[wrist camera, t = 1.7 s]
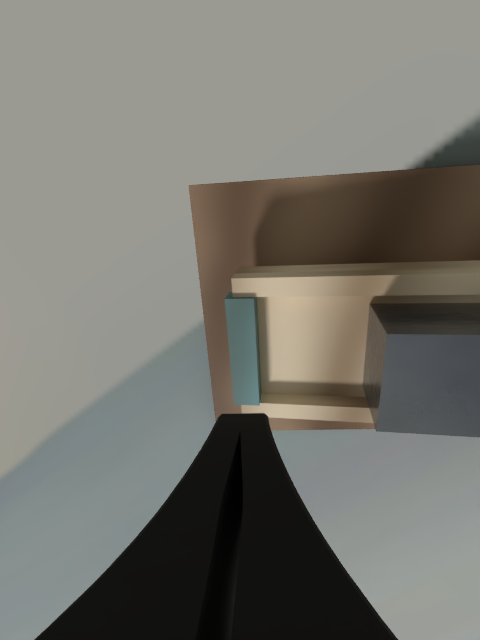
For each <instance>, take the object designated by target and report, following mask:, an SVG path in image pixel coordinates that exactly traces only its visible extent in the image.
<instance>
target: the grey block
mask: <svg viewBox="0 0 480 640" xmlns="http://www.w3.org/2000/svg"><path fill="white" fill-rule="evenodd" d="M363 390H364V393H365V396H366V399H367V403H368V406H369V409H370V412H371V416H372V419H373V422H374V425H375V429H376V431H381V432H398V433H416V434H433V435H450V436H468V437H480V303H378V304H369V316H368V327H367V339H366V351H365V362H364V374H363Z"/></svg>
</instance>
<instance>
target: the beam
mask: <svg viewBox="0 0 480 640" xmlns="http://www.w3.org/2000/svg"><path fill="white" fill-rule="evenodd" d="M231 282H232V291H231V292H229V293H228V294H227V296H226V298H225V309H226V320H227V332H228V343H229V355H230V366H231V377H232V389H233V400H234V405H241V410H242V413H265V414H266V415H267V416H268V417H269V418H288V419H307V420H325V421H344V422H363V423H374V422H373V419H372V416H371V412H370V409H369V406H368V403H367V399H366V396H365V393H364V390H363V374H364V362H365V351H366V339H367V327H368V316H369V304H378V303H480V260H471V261H435V262H398V263H361V264H324V265H287V266H251V267H239V268H238V270H237V271H236V272H235V274H234V275H233V277H232V278H231Z"/></svg>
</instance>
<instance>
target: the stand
mask: <svg viewBox="0 0 480 640" xmlns="http://www.w3.org/2000/svg"><path fill="white" fill-rule="evenodd" d="M189 192H190V201H191V209H192V218H193V227H194V236H195V244H196V253H197V262H198V270H199V279H200V288H201V296H202V305H203V314H204V323H205V331H206V340H207V349H208V357H209V366H210V375H211V383H212V392H213V401H214V410H215V418H216V421H217V419H218V417H219V416H220V415H221V414H238V413H242V410H241V405H234V400H233V389H232V377H231V366H230V355H229V343H228V332H227V320H226V309H225V298H226V296H227V294H228V293H229V292H231V291H232V282H231V278H232V277H233V275H234V274H235V272H236V271H237V270H238V268H239V267H251V266H287V265H324V264H361V263H398V262H435V261H471V260H480V164H479V165H465V166H451V167H437V168H423V169H409V170H396V171H382V172H368V173H355V174H340V175H326V176H312V177H298V178H285V179H271V180H257V181H243V182H230V183H215V184H201V185H189ZM268 419H269V424H270V428H271V430H324V429H375V425H374V423H363V422H344V421H325V420H307V419H288V418H269V417H268Z"/></svg>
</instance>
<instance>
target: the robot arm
mask: <svg viewBox="0 0 480 640" xmlns="http://www.w3.org/2000/svg"><path fill="white" fill-rule="evenodd" d="M35 640H398V639H397V638H396V636H395V635H394V634H393V633H392V631H391V630H390V629H389V628H388V626H387V625H386V624H385V623H384V621H383V620H382V619H381V617H380V616H379V615H378V613H377V612H376V611H375V609H374V608H373V607H372V605H371V604H370V602H369V601H368V600H367V598H366V597H365V596H364V594H363V593H362V592H361V590H360V589H359V587H358V586H357V585H356V583H355V582H354V581H353V579H352V578H351V577H350V575H349V574H348V573H347V571H346V570H345V568H344V567H343V565H342V564H341V562H340V561H339V559H338V558H337V556H336V555H335V553H334V552H333V550H332V549H331V547H330V546H329V544H328V543H327V541H326V540H325V538H324V537H323V535H322V533H321V532H320V530H319V529H318V527H317V525H316V524H315V522H314V520H313V519H312V517H311V515H310V514H309V512H308V510H307V508H306V507H305V505H304V503H303V501H302V499H301V497H300V496H299V494H298V492H297V490H296V488H295V486H294V484H293V482H292V480H291V478H290V476H289V474H288V472H287V470H286V467H285V465H284V463H283V461H282V459H281V456H280V454H279V452H278V449H277V447H276V444H275V441H274V438H273V435H272V432H271V428H270V424H269V419H268V416H267V415H266V414H265V413H238V414H221V415H220V416H219V417H218V419H217V421H216V423H215V425H214V427H213V429H212V431H211V433H210V434H209V436H208V438H207V440H206V441H205V443H204V445H203V447H202V448H201V450H200V451H199V453H198V455H197V456H196V458H195V459H194V461H193V463H192V464H191V466H190V467H189V469H188V470H187V472H186V473H185V475H184V476H183V478H182V479H181V480H180V482H179V483H178V485H177V486H176V487H175V489H174V490H173V492H172V493H171V494H170V496H169V497H168V499H167V500H166V501H165V503H164V504H163V505H162V506H161V508H160V509H159V510H158V512H157V513H156V514H155V515H154V517H153V518H152V519H151V520H150V522H149V523H148V524H147V525H146V526H145V527H144V529H143V530H142V531H141V532H140V533H139V535H138V536H137V537H136V538H135V539H134V540H133V542H132V543H131V544H130V545H129V546H128V547H127V548H126V549H125V550H124V551H123V552H122V554H121V555H120V556H119V557H118V558H117V559H116V560H115V561H114V562H113V563H112V565H111V566H110V567H109V568H108V569H107V570H106V571H105V572H104V573H103V574H102V575H101V576H100V577H99V578H98V579H97V580H96V581H95V582H94V583H93V584H92V585H91V586H90V587H89V588H88V589H87V590H86V591H85V592H84V593H83V594H82V595H81V596H80V597H79V598H78V599H77V600H76V601H75V602H74V603H73V604H72V605H71V606H69V607H68V608H67V609H66V610H65V611H64V612H63V613H62V614H61V615H60V616H59V617H58V618H57V619H56V620H55V621H54V622H53V623H52V624H51V625H50V626H49V627H48V628H47V629H46V630H44V631H43V632H42V633H41V634H40V635H39V636H38V637H37V638H36V639H35Z"/></svg>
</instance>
